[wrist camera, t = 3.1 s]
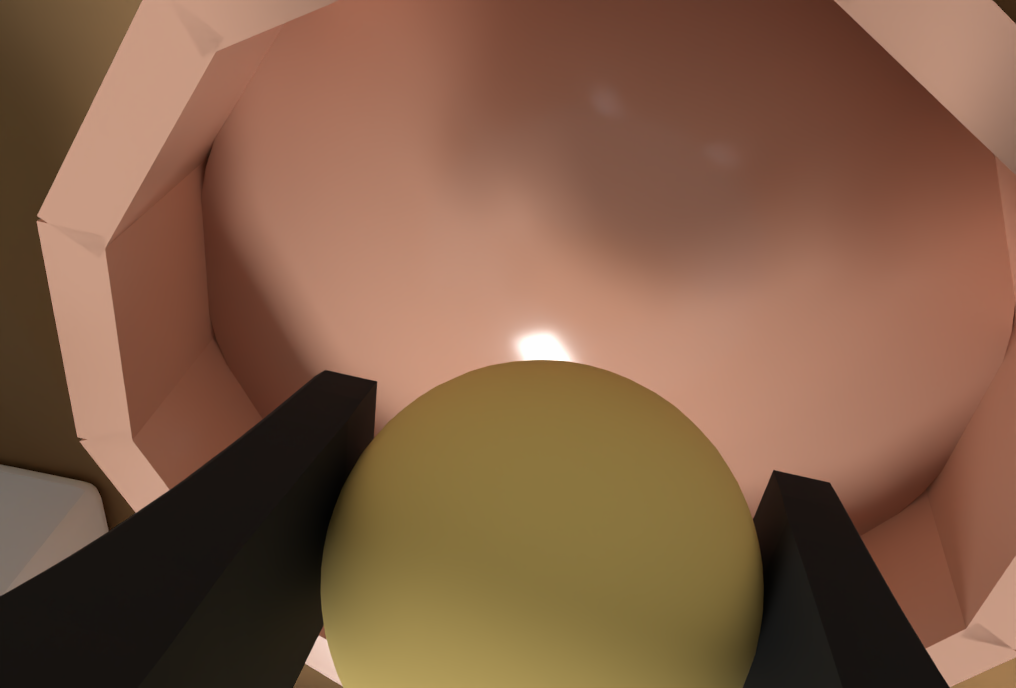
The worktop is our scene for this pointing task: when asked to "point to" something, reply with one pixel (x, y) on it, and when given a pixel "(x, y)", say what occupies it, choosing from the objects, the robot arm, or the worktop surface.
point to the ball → (541, 542)
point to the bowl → (574, 242)
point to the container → (43, 522)
